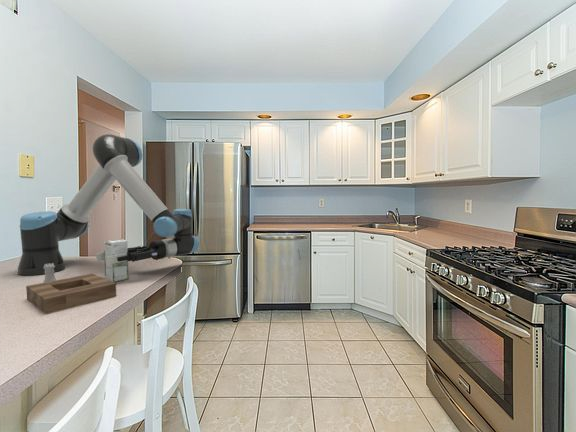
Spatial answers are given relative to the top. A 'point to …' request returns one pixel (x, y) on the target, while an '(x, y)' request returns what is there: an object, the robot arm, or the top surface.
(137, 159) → the robot arm
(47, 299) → the socket block
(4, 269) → the top surface
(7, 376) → the top surface
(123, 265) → the syrup box
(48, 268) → the rook chess piece
